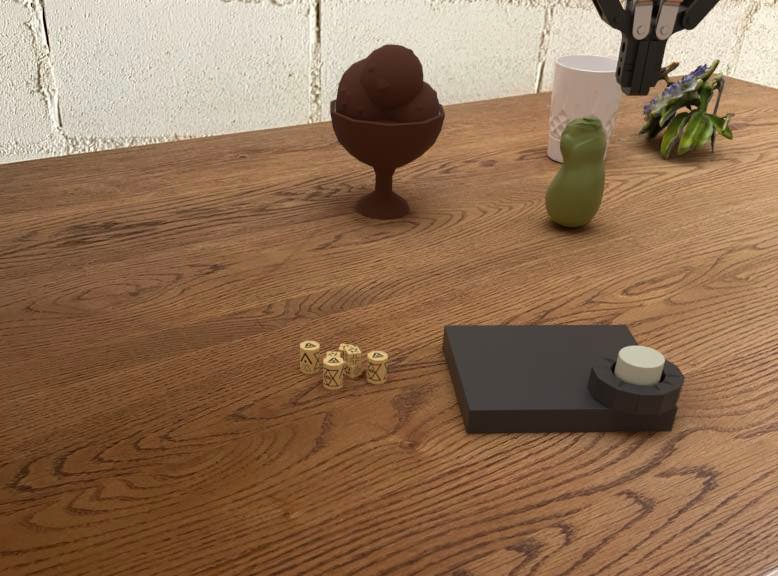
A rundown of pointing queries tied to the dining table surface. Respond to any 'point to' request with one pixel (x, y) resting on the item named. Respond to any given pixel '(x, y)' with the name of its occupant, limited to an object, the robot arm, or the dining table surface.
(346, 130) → the ice cream bowl
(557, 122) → the white cup
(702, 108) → the passion flower
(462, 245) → the dining table surface
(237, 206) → the dining table surface
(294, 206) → the dining table surface
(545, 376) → the scale
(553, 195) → the pear
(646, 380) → the button
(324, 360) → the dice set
